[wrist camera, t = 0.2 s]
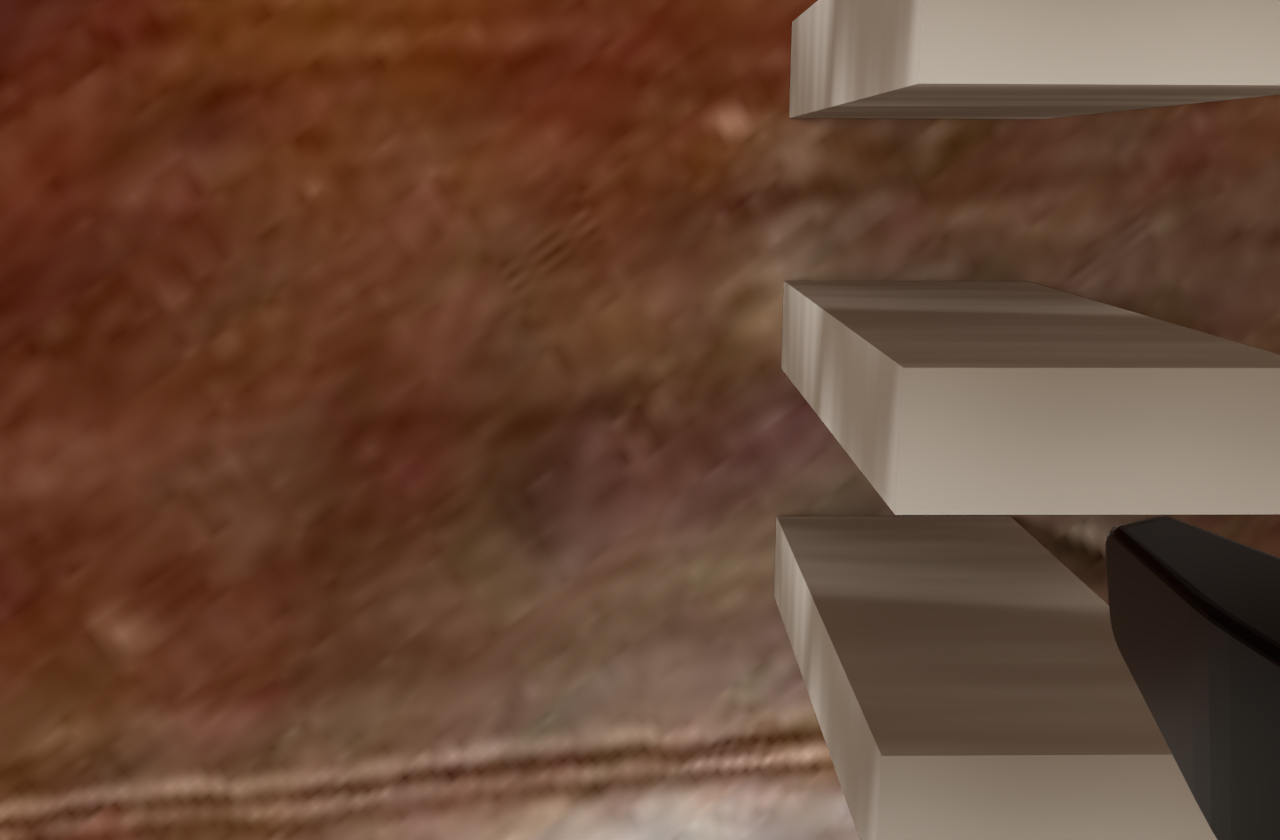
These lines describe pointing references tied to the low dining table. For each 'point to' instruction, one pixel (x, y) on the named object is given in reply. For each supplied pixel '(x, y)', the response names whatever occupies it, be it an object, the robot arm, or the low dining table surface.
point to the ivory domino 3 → (971, 685)
